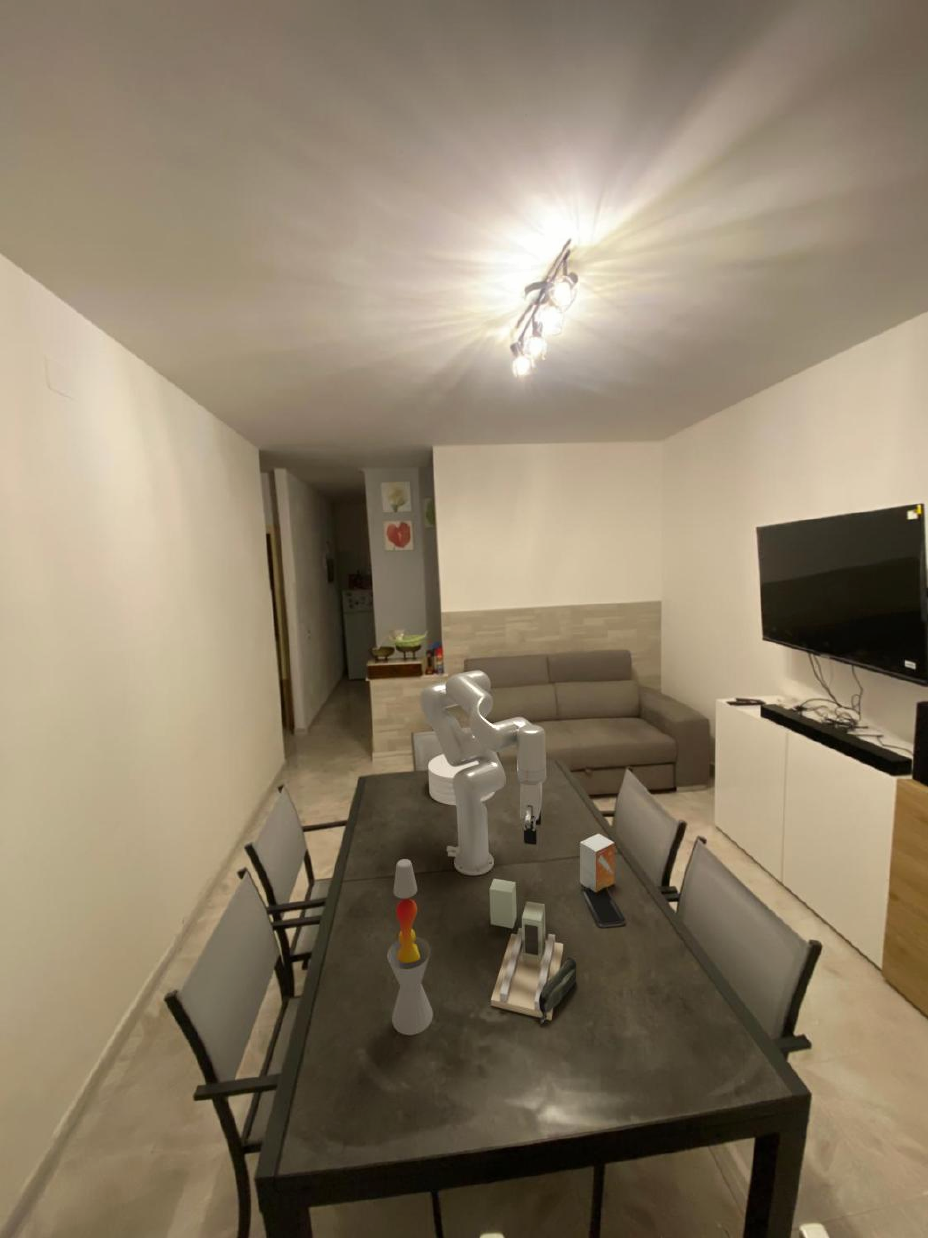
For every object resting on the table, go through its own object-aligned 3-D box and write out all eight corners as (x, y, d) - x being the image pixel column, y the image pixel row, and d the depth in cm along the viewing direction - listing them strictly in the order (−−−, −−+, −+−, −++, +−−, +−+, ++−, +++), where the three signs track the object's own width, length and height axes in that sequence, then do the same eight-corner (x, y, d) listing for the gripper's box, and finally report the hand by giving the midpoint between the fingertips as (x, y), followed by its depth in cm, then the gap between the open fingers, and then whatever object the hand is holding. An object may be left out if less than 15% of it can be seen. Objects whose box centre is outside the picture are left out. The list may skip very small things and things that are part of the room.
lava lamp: (438, 1028, 104) (430, 870, 100) (394, 1041, 102) (384, 880, 98) (428, 993, 113) (421, 846, 109) (388, 1004, 110) (379, 855, 106)
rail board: (551, 1020, 105) (550, 970, 104) (491, 1005, 109) (489, 957, 108) (563, 949, 124) (562, 906, 123) (511, 939, 128) (510, 897, 127)
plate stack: (428, 778, 225) (426, 753, 224) (489, 773, 228) (489, 748, 227) (430, 808, 197) (429, 780, 196) (501, 802, 200) (500, 774, 199)
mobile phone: (567, 953, 116) (533, 997, 105) (579, 960, 114) (545, 1005, 103) (566, 973, 117) (532, 1018, 105) (578, 980, 115) (544, 1027, 103)
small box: (596, 894, 143) (595, 852, 142) (579, 883, 149) (579, 842, 147) (615, 884, 148) (615, 842, 146) (598, 873, 153) (598, 832, 152)
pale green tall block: (512, 928, 132) (511, 893, 130) (488, 923, 134) (487, 888, 132) (516, 916, 136) (515, 882, 135) (493, 912, 138) (492, 878, 137)
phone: (598, 925, 130) (580, 888, 145) (598, 929, 131) (580, 892, 145) (627, 923, 131) (606, 886, 146) (627, 927, 131) (606, 889, 146)
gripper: (522, 758, 142) (523, 816, 144) (512, 786, 125) (513, 850, 128) (549, 760, 140) (550, 818, 142) (542, 788, 123) (543, 853, 126)
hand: (532, 833), depth 135 cm, fingers open, 9 cm apart
